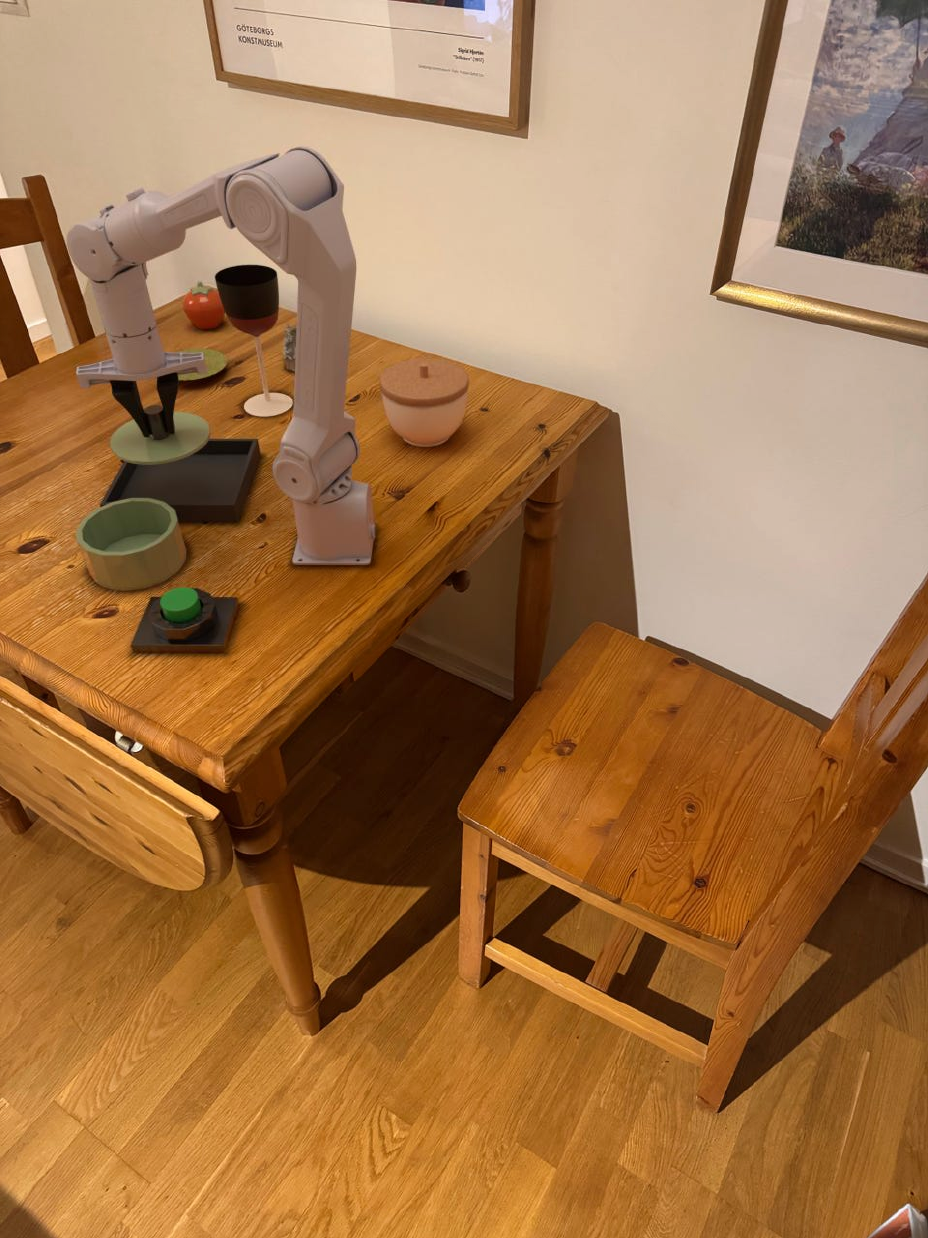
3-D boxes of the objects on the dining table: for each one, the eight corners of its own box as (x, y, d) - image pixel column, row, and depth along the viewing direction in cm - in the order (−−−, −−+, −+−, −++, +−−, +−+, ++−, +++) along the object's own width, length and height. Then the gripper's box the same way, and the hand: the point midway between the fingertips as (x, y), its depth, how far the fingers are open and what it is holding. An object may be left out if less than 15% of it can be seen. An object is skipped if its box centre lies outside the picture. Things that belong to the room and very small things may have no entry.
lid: (220, 418, 113) (213, 385, 110) (199, 469, 104) (190, 435, 101) (128, 418, 114) (118, 385, 110) (99, 469, 105) (87, 435, 101)
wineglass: (286, 419, 131) (264, 288, 117) (232, 414, 132) (205, 283, 118) (303, 394, 136) (285, 266, 123) (251, 389, 138) (228, 262, 124)
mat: (238, 360, 145) (236, 350, 144) (215, 392, 137) (212, 381, 136) (174, 356, 146) (172, 346, 145) (148, 388, 138) (144, 377, 137)
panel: (239, 604, 99) (234, 584, 97) (224, 653, 94) (219, 633, 92) (153, 604, 100) (146, 584, 98) (133, 653, 94) (125, 633, 92)
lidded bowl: (367, 443, 125) (360, 373, 118) (411, 406, 134) (407, 337, 126) (443, 465, 121) (441, 393, 113) (483, 425, 129) (484, 355, 122)
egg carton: (288, 345, 150) (285, 322, 147) (332, 343, 150) (329, 320, 147) (282, 373, 142) (278, 349, 139) (328, 371, 142) (325, 348, 139)
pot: (196, 533, 110) (186, 497, 106) (173, 591, 101) (162, 555, 98) (107, 532, 110) (94, 497, 106) (76, 591, 101) (62, 555, 98)
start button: (204, 598, 96) (201, 586, 95) (196, 623, 93) (192, 611, 92) (169, 598, 96) (165, 586, 95) (159, 622, 93) (155, 610, 92)
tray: (261, 455, 123) (257, 438, 121) (238, 522, 111) (234, 504, 109) (141, 455, 123) (136, 438, 121) (105, 522, 111) (99, 504, 109)
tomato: (217, 313, 159) (208, 269, 154) (237, 326, 155) (228, 281, 150) (180, 324, 156) (169, 280, 151) (199, 337, 152) (189, 292, 146)
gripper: (194, 306, 103) (217, 408, 112) (67, 319, 100) (100, 423, 109) (196, 330, 98) (219, 435, 107) (62, 345, 95) (97, 452, 104)
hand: (159, 431), depth 108 cm, fingers closed on lid, 2 cm apart
